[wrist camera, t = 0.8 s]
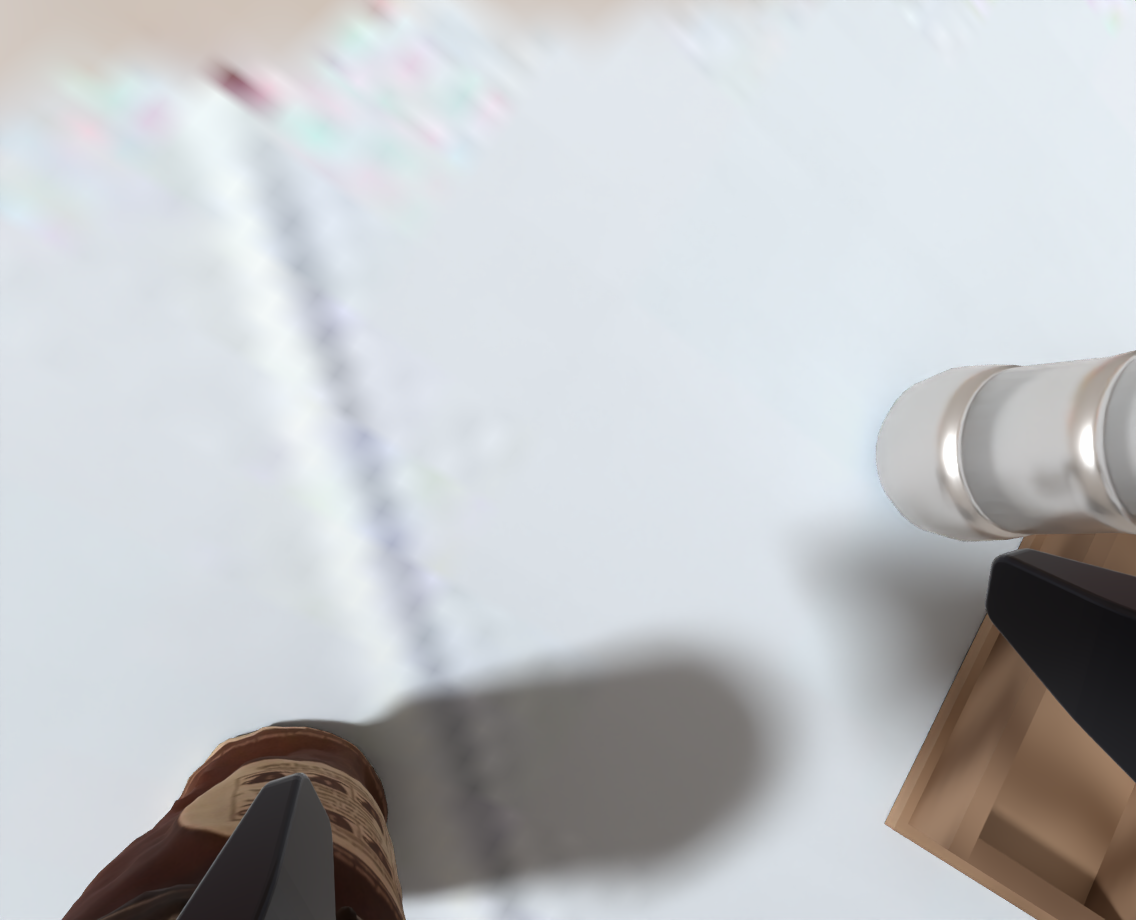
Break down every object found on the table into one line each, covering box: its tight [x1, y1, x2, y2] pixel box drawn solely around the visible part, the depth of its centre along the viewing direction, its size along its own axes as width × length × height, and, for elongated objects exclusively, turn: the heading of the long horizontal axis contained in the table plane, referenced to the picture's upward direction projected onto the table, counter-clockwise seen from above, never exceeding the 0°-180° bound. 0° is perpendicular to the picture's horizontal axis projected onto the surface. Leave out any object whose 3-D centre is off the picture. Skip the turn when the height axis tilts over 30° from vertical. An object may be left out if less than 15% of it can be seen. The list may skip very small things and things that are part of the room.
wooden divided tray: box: [884, 533, 1136, 920], centre depth 29 cm, size 23×12×2 cm, turn 147°
